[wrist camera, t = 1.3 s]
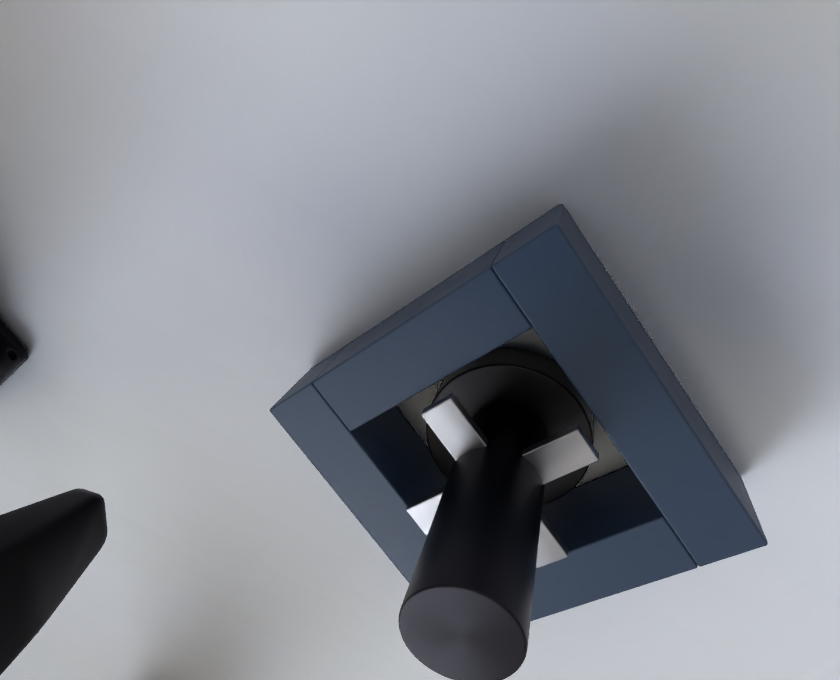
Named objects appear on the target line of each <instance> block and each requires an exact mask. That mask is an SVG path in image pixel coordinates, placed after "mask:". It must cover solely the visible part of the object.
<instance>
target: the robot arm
mask: <svg viewBox="0 0 840 680" xmlns="http://www.w3.org/2000/svg"><path fill="white" fill-rule="evenodd" d="M27 358H28V352H27V349H26V348H25V347H24V345H23V344H22V343H21V342H20V341H19V340H18V339H17V337H16V336H15V335H14V334H13V333H12V332H11V331H10V329H9V328H8V327H7V326H6V325H5V324H4V323H3V321H2V320H1V319H0V385H1V384H2V383H3V382H4V381H5V380H6V379H7V378H8V377H9V376H10V375H11V374H13V373H14V372H15V371H16V370H17V369H18V368H19V367H20V366H21V365H22V364H23V363H24V362H25V361H26V360H27ZM106 537H107V522H106V512H105V502H104V499H103V497H102V496H101V495H99V494H97V493H94V492H91V491H88V490H85V489H74V490H71V491H68V492H65V493H62V494H59V495H56V496H53V497H51V498H48V499H45V500H42V501H39V502H36V503H34V504H31V505H28V506H25V507H22V508H19V509H17V510H14V511H11V512H8V513H5V514H2V515H0V675H1V674H2V673H3V672H4V670H5V669H6V668H7V667H8V666H9V665H10V664H11V663H12V661H13V660H14V659H15V658H16V657H17V656H18V655H19V654H20V652H21V651H22V650H23V649H24V648H25V647H26V646H27V644H28V643H29V642H30V641H31V640H32V639H33V637H34V636H35V635H36V634H37V633H38V632H39V630H40V629H41V628H42V627H43V625H44V624H45V623H46V621H47V620H48V619H49V618H50V616H51V615H52V614H53V612H54V611H55V610H56V608H57V607H58V606H59V604H60V603H61V602H62V600H63V599H64V598H65V596H66V595H67V594H68V592H69V591H70V590H71V588H72V587H73V585H74V584H75V583H76V581H77V580H78V579H79V577H80V576H81V575H82V573H83V572H84V571H85V569H86V568H87V567H88V565H89V564H90V563H91V561H92V560H93V559H94V557H95V556H96V555H97V553H98V552H99V551H100V549H101V548H102V546H103V544H104V542H105V540H106Z"/></svg>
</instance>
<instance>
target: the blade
mask: <svg viewBox="0 0 840 680" xmlns="http://www.w3.org/2000/svg"><path fill="white" fill-rule="evenodd" d="M421 416H422V417H423V418H424V420H425V421H426V422H427V424H426V433H427V441H428V445H429V449H430V451H431V454H432V457H433V459H434V460H435V462H436V464H437V466H438V467H439V469H440V470H441V472H442V473H443V474H444V475H445V476H446V478H447V479H448V480H447V482H446V485H445V486H444V487H442V488H440V489H438V490H436V491H434V492H431V493H429V494H427V495H425V496H423V497H421V498H419V499H417V500H414V501H412V502H410V503H409V504H408V506H407V509H406V510H407V512H408V513H409V514H410V516H411V517H412V518H413V519H414V521H415V522H416V523H417V524H418V526H419V527H420V528H421V530H422V531H423V532H424V533H425V535H427V537H426V540H425V543H424V546H423V549H422V551H421V554H420V557H419V560H418V562H417V565H416V568H415V571H414V573H413V576H412V579H411V582H410V584H409V587H408V590H407V593H406V595H405V598H404V601H403V604H402V606H401V609H400V613H399V629H400V632H401V636H402V638H403V640H404V642H405V644H406V646H407V647H408V649H409V650H410V651H411V653H412V654H413V655H414V656H415V657H416V658H417V659H418V660H419V661H420V662H422V663H423V664H424V665H426V666H427V667H428V668H430V669H431V670H433V671H435V672H437V673H439V674H441V675H443V676H445V677H448V678H450V679H453V680H503V679H505V678H507V677H509V676H511V675H512V674H513V673H515V672H516V671H517V670H518V669H519V667H520V666H521V665H522V663H523V662H524V659H525V657H526V653H527V646H528V637H529V628H530V618H531V609H532V600H533V590H534V581H535V572H536V568H539V567H542V566H545V565H547V564H550V563H553V562H555V561H558V560H561V559H564V558H566V557H568V548H567V546H566V545H565V544H564V542H563V541H562V540H561V538H560V537H559V536H558V534H557V533H556V532H555V530H554V529H553V528H552V526H551V525H550V523H549V522H548V521H547V519H546V518H545V517H544V515H543V514H542V506H543V505H544V504H547V503H550V502H553V501H555V500H557V499H559V498H561V497H562V496H564V495H565V494H567V493H568V492H569V491H571V490H572V489H573V488H574V487H575V486H576V485H577V484H578V483H579V481H580V480H581V479H582V478H583V476H584V474H585V473H586V471H587V469H588V467H589V465H590V464H592V463H594V462H597V461H598V460H599V454H598V452H597V450H596V449H595V448H594V446H593V417H592V412H591V410H590V409H589V407H588V406H587V405H586V403H585V402H584V400H583V399H582V397H581V396H580V394H579V393H578V392H577V390H576V389H575V387H574V386H573V384H572V383H571V381H570V380H569V379H568V377H567V376H566V374H565V373H564V371H563V370H562V368H561V367H560V366H559V364H558V363H556V362H554V361H552V360H551V359H549V358H547V357H545V356H542V355H540V354H537V353H534V352H531V351H527V350H521V349H511V348H503V349H494V350H492V351H490V352H489V353H487V354H485V355H483V356H482V357H480V358H478V359H477V360H475V361H473V362H471V363H470V364H468V365H466V366H464V367H463V368H461V369H459V370H457V371H456V372H454V373H452V374H450V375H449V376H447V377H445V379H444V381H443V382H442V384H441V386H440V388H439V390H438V392H437V394H436V396H435V398H434V400H433V402H432V404H431V405H430V406H428V407H426V408H424V410H423V411H422V413H421Z"/></svg>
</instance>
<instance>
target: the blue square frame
mask: <svg viewBox="0 0 840 680" xmlns="http://www.w3.org/2000/svg"><path fill="white" fill-rule="evenodd" d="M532 326H533V328H534V329H535V331H536V332H537V334H538V335H539V337H540V338H541V339H542V341H543V342H544V344H545V345H546V347H547V348H548V350H549V351H550V353H551V354H552V355H553V357H554V358H555V360H556V361H557V363H558V364H559V366H560V367H561V368H562V370H563V371H564V373H565V374H566V376H567V377H568V379H569V380H570V381H571V383H572V384H573V386H574V387H575V389H576V390H577V392H578V393H579V394H580V396H581V397H582V399H583V400H584V402H585V403H586V405H587V406H588V407H589V409H590V410H591V412H592V413H593V415H594V416H595V418H596V419H597V420H598V422H599V423H600V425H601V426H602V428H603V429H604V431H605V432H606V433H607V435H608V436H609V438H610V439H611V441H612V442H613V444H614V445H615V446H616V448H617V449H618V451H619V452H620V454H621V455H622V457H623V458H624V459H625V461H626V462H627V464H628V465H629V466H628V467H625V468H623V469H620V470H618V471H616V472H613V473H611V474H608V475H606V476H604V477H601V478H599V479H596V480H594V481H592V482H589V483H587V484H585V485H582V486H580V487H577V488H575V489H573V490H571V491H569V492H568V493H567V494H565V495H564V496H562V497H561V498H559V499H557V500H555V501H553V502H550V503H547V504H544V505H543V506H542V514H543V515H544V517H545V518H546V519H547V521H548V522H549V523H550V525H551V526H552V528H553V529H554V530H555V532H556V533H557V534H558V536H559V537H560V538H561V540H562V541H563V542H564V544H565V545H566V546H567V548H568V557H566V558H564V559H561V560H558V561H555V562H553V563H550V564H547V565H545V566H542V567H539V568H536V572H535V581H534V590H533V600H532V609H531V618H530V621H533V620H536V619H539V618H542V617H545V616H548V615H551V614H554V613H558V612H561V611H564V610H567V609H570V608H573V607H576V606H579V605H582V604H586V603H589V602H592V601H595V600H598V599H601V598H604V597H607V596H611V595H614V594H617V593H620V592H623V591H626V590H629V589H632V588H635V587H639V586H642V585H645V584H648V583H651V582H654V581H657V580H660V579H663V578H667V577H670V576H673V575H676V574H679V573H682V572H685V571H688V570H692V569H695V568H697V565H698V566H703V565H707V564H710V563H713V562H716V561H719V560H722V559H725V558H728V557H731V556H735V555H738V554H741V553H744V552H747V551H750V550H753V549H756V548H759V547H763V546H766V545H767V539H766V537H765V535H764V532H763V530H762V527H761V525H760V522H759V520H758V517H757V515H756V512H755V510H754V508H753V505H752V503H751V500H750V498H749V495H748V493H747V490H746V488H745V486H744V483H743V481H742V478H741V476H740V475H739V473H738V472H737V470H736V469H735V467H734V466H733V464H732V463H731V461H730V459H729V458H728V456H727V455H726V453H725V452H724V450H723V449H722V447H721V446H720V444H719V443H718V441H717V440H716V438H715V436H714V435H713V433H712V432H711V430H710V429H709V427H708V426H707V424H706V423H705V421H704V420H703V418H702V417H701V415H700V414H699V412H698V410H697V409H696V407H695V406H694V404H693V403H692V401H691V400H690V398H689V397H688V395H687V394H686V392H685V391H684V389H683V387H682V386H681V384H680V383H679V381H678V380H677V378H676V377H675V375H674V374H673V372H672V371H671V369H670V368H669V366H668V364H667V363H666V361H665V360H664V358H663V357H662V355H661V354H660V352H659V351H658V349H657V348H656V346H655V345H654V343H653V341H652V340H651V338H650V337H649V335H648V334H647V332H646V331H645V329H644V328H643V326H642V325H641V323H640V322H639V320H638V318H637V317H636V315H635V314H634V312H633V311H632V309H631V308H630V306H629V305H628V303H627V302H626V300H625V299H624V297H623V295H622V294H621V292H620V291H619V289H618V288H617V286H616V285H615V283H614V282H613V280H612V279H611V277H610V276H609V274H608V272H607V271H606V269H605V268H604V266H603V265H602V263H601V262H600V260H599V259H598V257H597V256H596V254H595V253H594V251H593V249H592V248H591V246H590V245H589V243H588V242H587V240H586V239H585V237H584V236H583V234H582V233H581V231H580V230H579V228H578V226H577V225H576V223H575V222H574V220H573V219H572V217H571V216H570V214H569V213H568V211H567V210H566V208H565V207H564V205H563V204H559V205H558V206H556V207H555V208H553V209H552V210H550V211H548V212H547V213H545V214H544V215H542V216H541V217H539V218H538V219H536V220H535V221H533V222H532V223H530V224H529V225H527V226H526V227H524V228H523V229H521V230H520V231H518V232H517V233H515V234H514V235H512V236H511V237H509V238H508V239H507V240H506V242H505V241H503V242H502V243H500V244H499V245H497V246H496V247H494V248H493V249H491V250H490V251H488V252H487V253H485V254H484V255H482V256H481V257H479V258H477V259H476V260H474V261H473V262H471V263H470V264H468V265H467V266H465V267H464V268H462V269H461V270H459V271H458V272H456V273H455V274H453V275H452V276H450V277H449V278H447V279H446V280H444V281H443V282H441V283H440V284H438V285H437V286H435V287H434V288H432V289H431V290H429V291H428V292H426V293H425V294H423V295H422V296H420V297H419V298H417V299H416V300H414V301H413V302H411V303H410V304H408V305H407V306H405V307H404V308H402V309H401V310H399V311H398V312H396V313H394V314H393V315H391V316H390V317H388V318H387V319H385V320H384V321H382V322H381V323H379V324H378V325H376V326H375V327H373V328H372V329H370V330H369V331H367V332H366V333H364V334H363V335H361V336H360V337H358V338H357V339H355V340H354V341H352V342H351V343H349V344H348V345H346V346H345V347H343V348H342V349H340V350H339V351H337V352H336V353H334V354H333V355H331V356H330V357H328V358H327V359H325V360H324V361H322V362H321V363H319V364H318V365H316V366H314V367H313V368H311V369H310V370H309V371H308V372H307V373H306V374H305V375H304V376H303V377H302V378H301V379H300V380H299V381H298V382H297V383H296V384H295V385H294V386H293V387H292V388H291V389H290V390H289V391H288V392H287V393H286V394H285V395H284V396H283V397H282V398H281V399H280V400H279V401H278V402H277V403H276V404H275V405H274V406H273V407H272V408H271V409H270V412H271V413H272V414H273V415H274V417H275V418H276V419H277V420H278V422H279V423H280V424H281V425H282V427H283V428H284V429H285V430H286V432H287V433H288V434H289V435H290V436H291V438H292V439H293V440H294V441H295V443H296V444H297V445H298V446H299V448H300V449H301V450H302V451H303V453H304V454H305V455H306V456H307V457H308V459H309V460H310V461H311V462H312V464H313V465H314V466H315V467H316V469H317V470H318V471H319V472H320V473H321V475H322V476H323V477H324V478H325V480H326V481H327V482H328V483H329V485H330V486H331V487H332V488H333V490H334V491H335V492H336V493H337V494H338V496H339V497H340V498H341V499H342V501H343V502H344V503H345V504H346V506H347V507H348V508H349V509H350V511H351V512H352V513H353V514H354V515H355V517H356V518H357V519H358V520H359V522H360V523H361V524H362V525H363V527H364V528H365V529H366V530H367V531H368V533H369V534H370V535H371V536H372V538H373V539H374V540H375V541H376V543H377V544H378V545H379V546H380V548H381V549H382V550H383V551H384V552H385V554H386V555H387V556H388V557H389V559H390V560H391V561H392V562H393V564H394V565H395V566H396V567H397V569H398V570H399V571H400V572H401V573H402V575H403V576H404V577H405V578H406V580H407V581H408V582H409V583H410V582H411V579H412V576H413V573H414V571H415V568H416V565H417V562H418V560H419V557H420V554H421V551H422V549H423V546H424V543H425V540H426V537H427V535H425V533H424V532H423V531H422V530H421V528H420V527H419V526H418V524H417V523H416V522H415V521H414V519H413V518H412V517H411V516H410V514H409V513H408V512H407V510H406V509H407V506H408V504H409V503H410V502H412V501H414V500H417V499H419V498H421V497H423V496H425V495H427V494H429V493H431V492H434V491H436V490H438V489H440V488H442V487H444V486H445V485H446V482H447V480H448V479H447V478H446V476H445V475H444V474H443V473H442V472H441V470H440V469H439V467H438V466H437V464H436V462H435V460H434V459H433V457H432V454H431V452H430V451H429V449H428V448H427V447H426V445H425V444H424V443H423V441H422V440H421V439H420V438H419V436H418V435H417V434H416V432H415V431H414V430H413V428H412V427H411V426H410V424H409V423H408V422H407V421H406V419H405V418H404V417H403V415H402V414H401V413H400V411H399V410H398V409H397V407H396V405H398V404H400V403H401V402H403V401H405V400H407V399H408V398H410V397H412V396H414V395H415V394H417V393H419V392H421V391H422V390H424V389H426V388H428V387H429V386H431V385H433V384H435V383H436V382H438V381H440V380H442V379H443V378H445V377H447V376H449V375H450V374H452V373H454V372H456V371H457V370H459V369H461V368H463V367H464V366H466V365H468V364H470V363H471V362H473V361H475V360H477V359H478V358H480V357H482V356H483V355H485V354H487V353H489V352H490V351H492V350H494V349H496V348H497V347H499V346H501V345H503V344H504V343H506V342H508V341H510V340H511V339H513V338H515V337H517V336H518V335H520V334H522V333H524V332H525V331H527V330H529V329H531V327H532Z"/></svg>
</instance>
